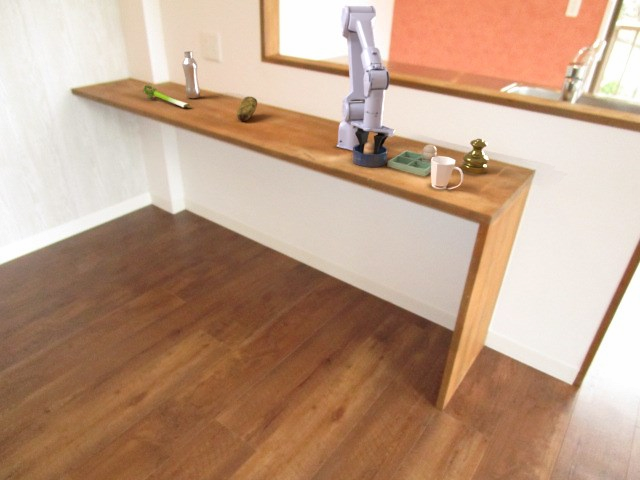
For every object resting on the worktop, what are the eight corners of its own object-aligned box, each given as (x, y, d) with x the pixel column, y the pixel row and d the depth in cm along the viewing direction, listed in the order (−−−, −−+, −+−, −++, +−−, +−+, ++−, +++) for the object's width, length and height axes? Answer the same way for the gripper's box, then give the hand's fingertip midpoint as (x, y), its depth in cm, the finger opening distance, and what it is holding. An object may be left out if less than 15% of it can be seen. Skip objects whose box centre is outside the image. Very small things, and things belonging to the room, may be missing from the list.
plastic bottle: (203, 97, 214) (199, 51, 204) (193, 100, 209) (188, 53, 199) (194, 95, 217) (188, 50, 207) (183, 98, 212) (177, 52, 202)
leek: (180, 114, 195) (139, 96, 210) (193, 113, 200) (152, 96, 215) (181, 100, 192) (139, 83, 207) (194, 99, 198) (152, 83, 212)
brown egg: (360, 161, 146) (361, 141, 143) (367, 157, 149) (368, 137, 146) (371, 164, 144) (373, 144, 141) (378, 160, 147) (380, 140, 144)
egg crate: (387, 167, 144) (387, 160, 142) (405, 156, 153) (406, 150, 152) (424, 177, 137) (425, 170, 136) (441, 165, 146) (442, 158, 145)
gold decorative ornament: (489, 170, 144) (496, 139, 139) (478, 177, 139) (485, 145, 134) (467, 164, 148) (473, 134, 143) (456, 170, 143) (462, 139, 138)
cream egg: (418, 165, 145) (421, 144, 142) (424, 161, 148) (427, 141, 145) (431, 168, 143) (434, 147, 140) (436, 164, 146) (439, 144, 143)
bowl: (345, 163, 146) (346, 149, 144) (363, 154, 154) (364, 140, 151) (375, 171, 140) (377, 157, 138) (392, 161, 148) (394, 148, 146)
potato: (228, 120, 183) (227, 100, 179) (248, 113, 193) (247, 94, 189) (245, 123, 180) (244, 103, 176) (264, 116, 190) (263, 96, 186)
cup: (433, 180, 136) (437, 154, 132) (465, 189, 130) (470, 162, 126) (421, 187, 131) (426, 160, 127) (454, 197, 126) (459, 169, 122)
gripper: (346, 110, 140) (343, 152, 146) (388, 118, 132) (384, 163, 139) (358, 105, 145) (355, 147, 151) (399, 113, 138) (394, 156, 144)
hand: (369, 154), depth 146 cm, fingers closed on brown egg, 4 cm apart
